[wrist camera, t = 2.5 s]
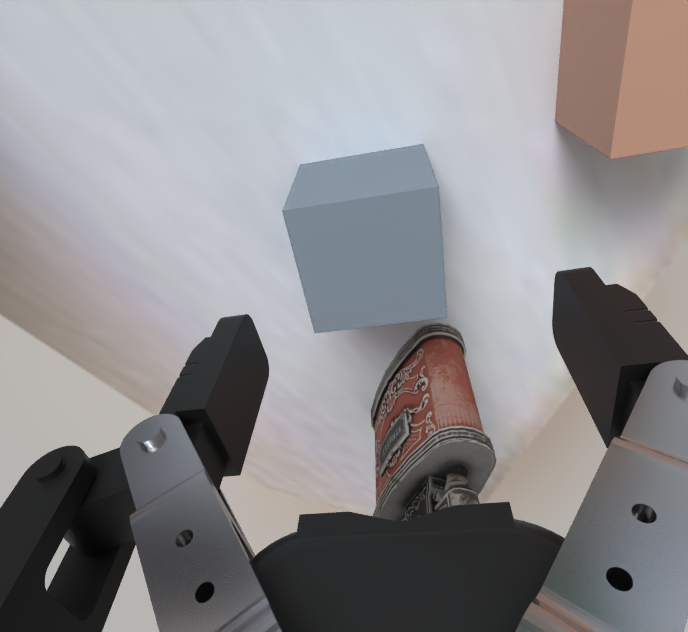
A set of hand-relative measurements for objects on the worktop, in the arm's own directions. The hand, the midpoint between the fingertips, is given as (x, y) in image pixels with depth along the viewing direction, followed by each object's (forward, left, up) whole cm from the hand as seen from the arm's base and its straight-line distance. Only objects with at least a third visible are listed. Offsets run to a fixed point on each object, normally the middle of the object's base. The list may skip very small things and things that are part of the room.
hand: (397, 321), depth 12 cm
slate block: (-1, 0, -9) cm, 9 cm away
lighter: (0, -10, -9) cm, 14 cm away
